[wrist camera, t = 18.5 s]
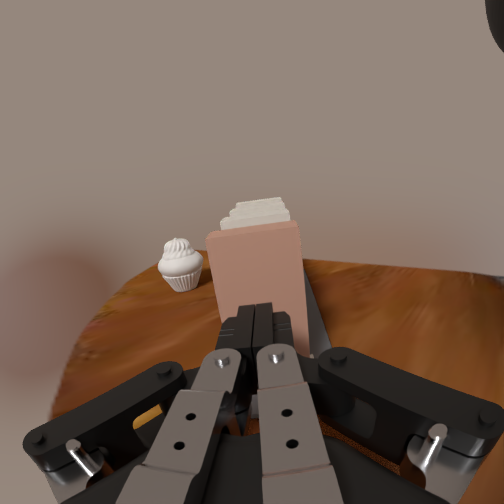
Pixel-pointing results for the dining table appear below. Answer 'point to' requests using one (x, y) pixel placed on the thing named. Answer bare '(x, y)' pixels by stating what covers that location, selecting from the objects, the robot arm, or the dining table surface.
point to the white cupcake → (180, 265)
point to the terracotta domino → (261, 273)
